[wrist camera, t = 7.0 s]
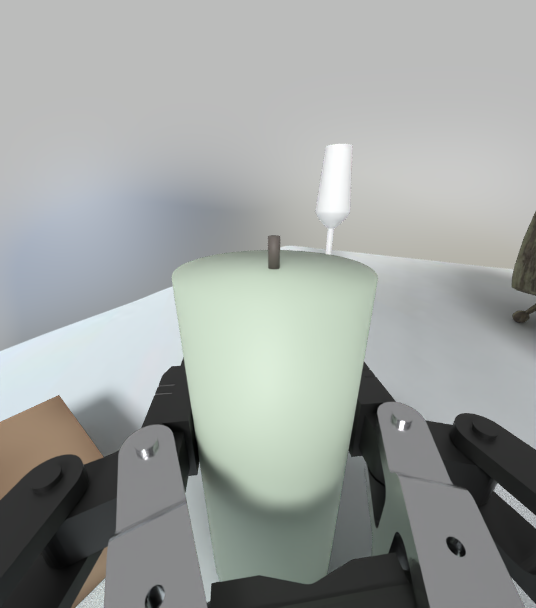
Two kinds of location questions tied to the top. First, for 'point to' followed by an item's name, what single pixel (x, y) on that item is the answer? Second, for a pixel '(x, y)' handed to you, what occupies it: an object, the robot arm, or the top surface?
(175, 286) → the candle
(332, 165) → the champagne flute
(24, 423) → the walnut block
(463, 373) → the top surface
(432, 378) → the top surface
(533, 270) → the tabletop clock
